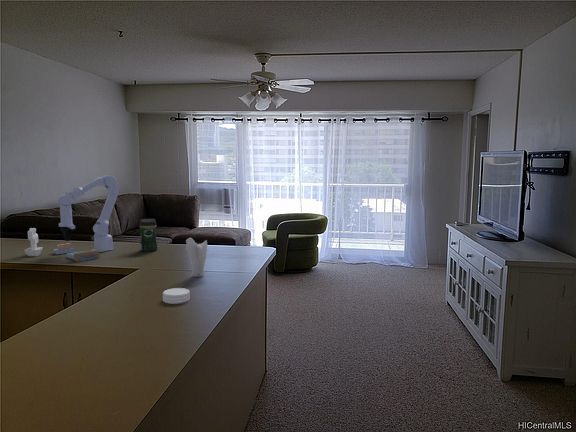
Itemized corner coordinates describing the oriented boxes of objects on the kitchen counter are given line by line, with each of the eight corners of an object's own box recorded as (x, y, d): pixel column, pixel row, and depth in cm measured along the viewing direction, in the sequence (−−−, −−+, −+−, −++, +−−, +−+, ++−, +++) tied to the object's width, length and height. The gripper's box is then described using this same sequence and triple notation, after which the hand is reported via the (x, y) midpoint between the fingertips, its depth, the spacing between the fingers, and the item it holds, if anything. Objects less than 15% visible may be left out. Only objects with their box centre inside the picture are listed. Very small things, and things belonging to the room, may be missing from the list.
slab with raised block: (69, 250, 252) (68, 242, 251) (73, 251, 249) (73, 243, 248) (53, 253, 245) (52, 244, 244) (57, 254, 242) (56, 245, 241)
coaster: (175, 306, 160) (175, 296, 159) (157, 301, 165) (156, 292, 165) (195, 299, 168) (195, 290, 168) (176, 294, 173) (176, 286, 173)
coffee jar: (156, 248, 262) (156, 217, 259) (157, 251, 254) (156, 219, 252) (139, 249, 258) (138, 218, 256) (140, 252, 251) (139, 220, 249)
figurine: (44, 253, 245) (42, 226, 244) (38, 256, 236) (36, 229, 234) (30, 253, 244) (28, 227, 242) (23, 257, 235) (21, 229, 233)
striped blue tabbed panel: (85, 254, 244) (85, 247, 243) (99, 257, 235) (98, 250, 235) (63, 257, 234) (63, 250, 234) (77, 261, 226) (76, 254, 225)
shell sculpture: (210, 274, 203) (209, 236, 201) (201, 279, 196) (200, 239, 193) (194, 273, 206) (194, 235, 204) (185, 277, 198) (184, 238, 196)
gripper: (52, 216, 242) (54, 240, 244) (65, 218, 233) (66, 243, 235) (65, 214, 247) (66, 238, 249) (78, 216, 239) (79, 241, 241)
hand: (67, 240), depth 242 cm, fingers closed
